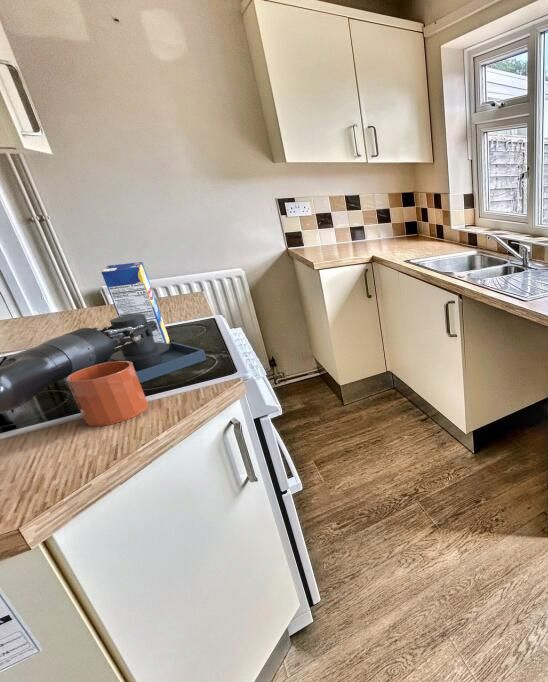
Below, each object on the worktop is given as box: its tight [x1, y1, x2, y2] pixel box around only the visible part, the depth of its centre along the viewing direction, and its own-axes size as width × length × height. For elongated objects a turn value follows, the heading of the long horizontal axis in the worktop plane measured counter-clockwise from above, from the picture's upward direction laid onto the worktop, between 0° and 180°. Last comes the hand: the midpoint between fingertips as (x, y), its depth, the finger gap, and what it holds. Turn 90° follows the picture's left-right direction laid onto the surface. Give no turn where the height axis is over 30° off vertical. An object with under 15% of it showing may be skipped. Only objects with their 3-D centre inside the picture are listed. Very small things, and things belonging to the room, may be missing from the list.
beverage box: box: [100, 261, 171, 343], centre depth 108 cm, size 7×11×22 cm, turn 36°
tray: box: [100, 341, 208, 384], centre depth 99 cm, size 19×14×3 cm
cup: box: [65, 361, 149, 427], centre depth 79 cm, size 9×9×9 cm
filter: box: [109, 314, 169, 370], centre depth 97 cm, size 11×11×12 cm
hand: (139, 325), depth 98 cm, fingers closed on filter, 6 cm apart
